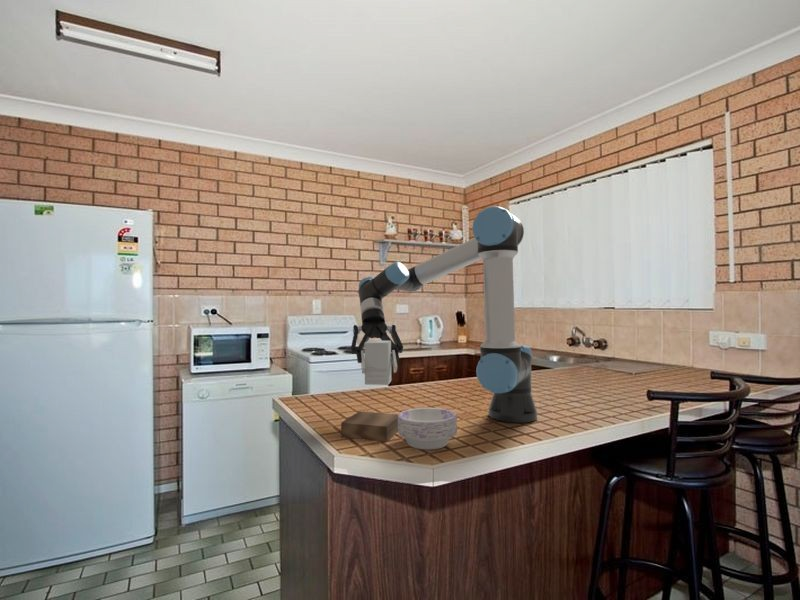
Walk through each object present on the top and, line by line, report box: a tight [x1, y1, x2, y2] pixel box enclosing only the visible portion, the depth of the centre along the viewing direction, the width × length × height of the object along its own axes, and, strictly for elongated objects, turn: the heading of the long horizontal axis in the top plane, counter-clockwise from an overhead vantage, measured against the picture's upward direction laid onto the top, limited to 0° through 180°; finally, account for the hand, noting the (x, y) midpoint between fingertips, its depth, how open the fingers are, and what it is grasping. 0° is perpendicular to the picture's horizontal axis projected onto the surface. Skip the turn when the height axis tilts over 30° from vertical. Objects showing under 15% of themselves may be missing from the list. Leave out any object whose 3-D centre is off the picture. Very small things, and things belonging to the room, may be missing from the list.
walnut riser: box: [340, 411, 399, 443], centre depth 120 cm, size 13×13×4 cm
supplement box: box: [363, 340, 392, 386], centre depth 129 cm, size 7×7×13 cm
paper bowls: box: [397, 407, 458, 451], centre depth 110 cm, size 15×15×8 cm
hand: (379, 370), depth 126 cm, fingers closed on supplement box, 9 cm apart
